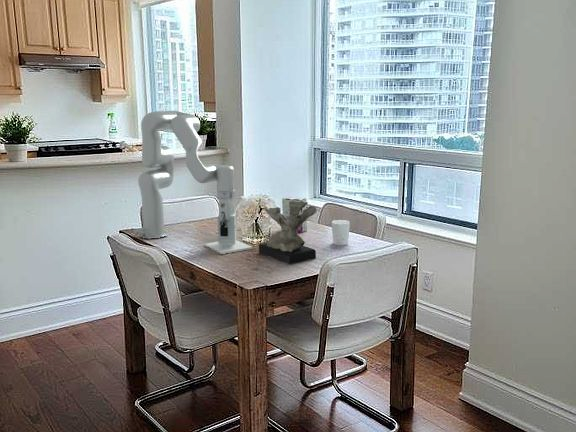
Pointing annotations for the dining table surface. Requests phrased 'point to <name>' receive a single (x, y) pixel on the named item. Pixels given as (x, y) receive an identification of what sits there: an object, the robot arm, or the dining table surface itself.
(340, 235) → the white cup
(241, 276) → the dining table surface
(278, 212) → the coral
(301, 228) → the candy bar box
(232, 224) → the supplement box
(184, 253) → the dining table surface
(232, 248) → the tile
